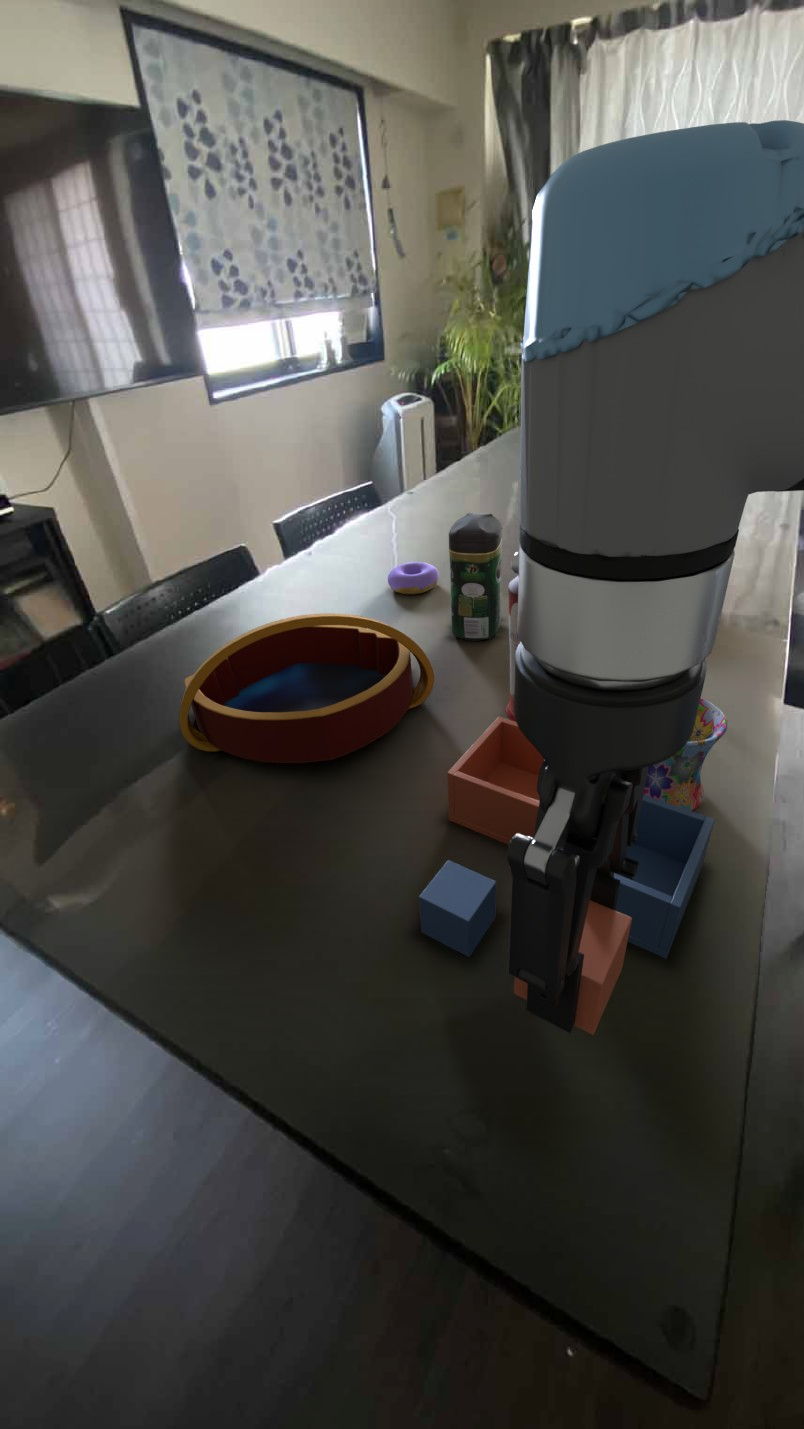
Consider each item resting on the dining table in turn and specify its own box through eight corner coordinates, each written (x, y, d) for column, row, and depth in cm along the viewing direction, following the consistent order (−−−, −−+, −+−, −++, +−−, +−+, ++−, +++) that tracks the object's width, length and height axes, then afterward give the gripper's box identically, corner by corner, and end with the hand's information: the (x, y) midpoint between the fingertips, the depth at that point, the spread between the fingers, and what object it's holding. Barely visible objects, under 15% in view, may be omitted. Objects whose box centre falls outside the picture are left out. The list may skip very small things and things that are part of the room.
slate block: (495, 917, 59) (496, 881, 56) (469, 958, 56) (468, 921, 53) (449, 895, 62) (448, 859, 59) (421, 932, 58) (418, 896, 56)
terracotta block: (622, 968, 40) (632, 917, 37) (593, 1035, 36) (602, 985, 34) (546, 933, 42) (551, 883, 39) (513, 993, 39) (515, 943, 36)
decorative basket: (413, 664, 103) (402, 571, 96) (464, 747, 77) (455, 629, 70) (199, 703, 98) (172, 609, 92) (178, 806, 72) (139, 686, 66)
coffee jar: (458, 614, 111) (455, 507, 100) (503, 617, 109) (506, 508, 98) (446, 641, 103) (442, 528, 93) (495, 644, 101) (497, 530, 91)
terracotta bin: (590, 794, 72) (596, 746, 68) (547, 861, 64) (552, 812, 60) (497, 762, 78) (498, 716, 74) (448, 820, 70) (446, 772, 66)
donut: (420, 570, 128) (421, 548, 124) (447, 593, 122) (450, 571, 119) (377, 583, 124) (378, 561, 120) (403, 608, 118) (405, 586, 115)
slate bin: (700, 869, 62) (715, 818, 58) (666, 959, 55) (680, 907, 51) (585, 826, 68) (592, 777, 64) (539, 901, 60) (544, 851, 56)
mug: (708, 829, 66) (732, 749, 60) (615, 815, 69) (628, 736, 63) (701, 758, 76) (721, 682, 69) (619, 748, 78) (631, 674, 72)
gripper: (597, 554, 34) (567, 858, 47) (410, 735, 22) (440, 1074, 35) (753, 577, 30) (673, 900, 43) (630, 809, 18) (571, 1157, 31)
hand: (569, 977), depth 39 cm, fingers closed on terracotta block, 5 cm apart
